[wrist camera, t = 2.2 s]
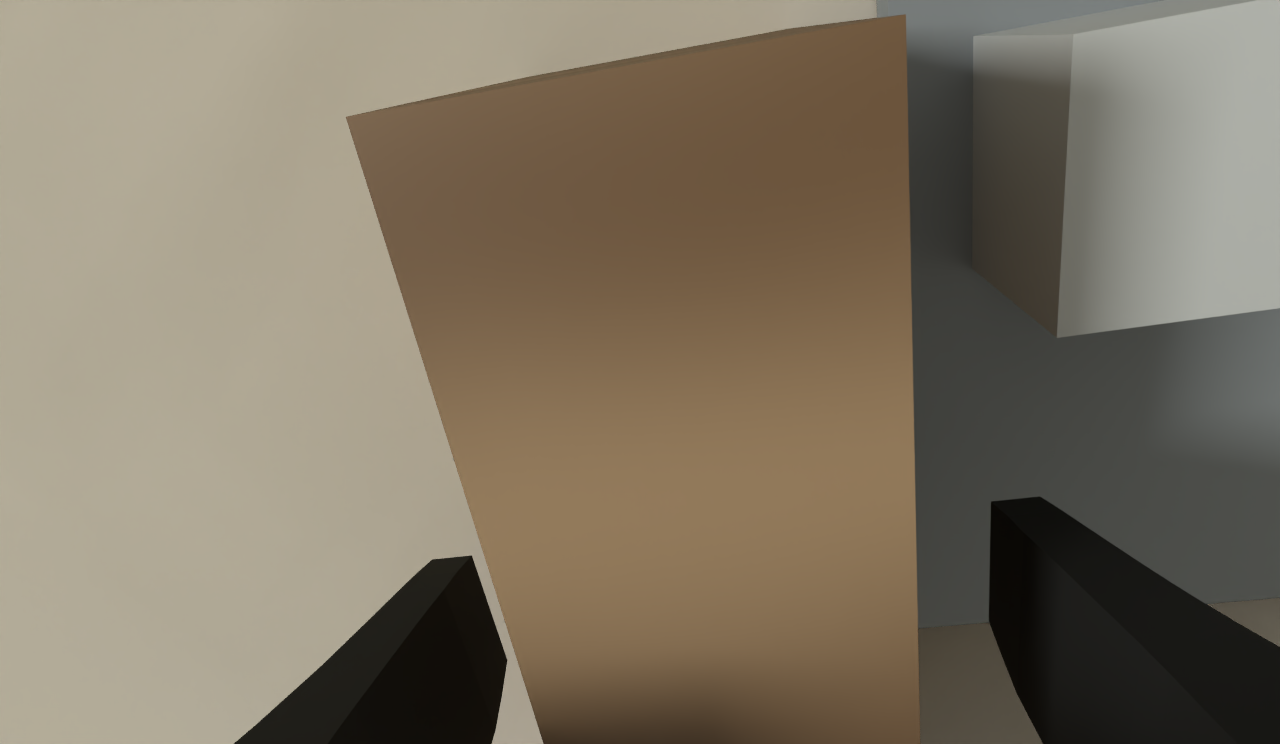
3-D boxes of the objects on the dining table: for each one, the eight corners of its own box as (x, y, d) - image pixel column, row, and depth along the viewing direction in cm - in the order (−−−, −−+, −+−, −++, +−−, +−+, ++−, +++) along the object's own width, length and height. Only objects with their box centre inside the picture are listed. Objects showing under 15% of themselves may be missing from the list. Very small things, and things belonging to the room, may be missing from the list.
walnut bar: (845, 749, 15) (927, 1138, 10) (676, 759, 16) (667, 1135, 10) (788, 28, 10) (906, 13, 4) (530, 75, 10) (345, 116, 5)
